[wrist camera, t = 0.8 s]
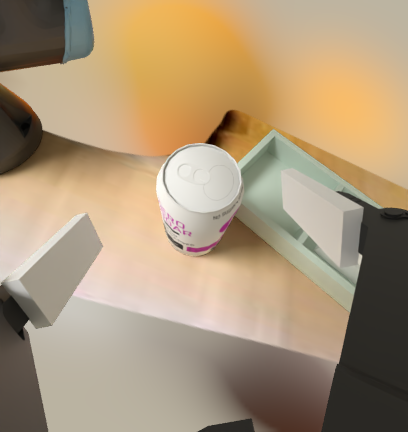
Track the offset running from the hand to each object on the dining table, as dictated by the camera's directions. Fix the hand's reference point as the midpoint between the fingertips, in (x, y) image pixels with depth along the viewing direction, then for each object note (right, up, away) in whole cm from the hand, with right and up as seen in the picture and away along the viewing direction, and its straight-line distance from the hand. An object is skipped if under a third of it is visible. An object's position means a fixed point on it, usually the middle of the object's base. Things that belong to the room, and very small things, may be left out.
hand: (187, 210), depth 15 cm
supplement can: (0, -2, +18) cm, 19 cm away
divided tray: (+17, -1, +20) cm, 27 cm away
